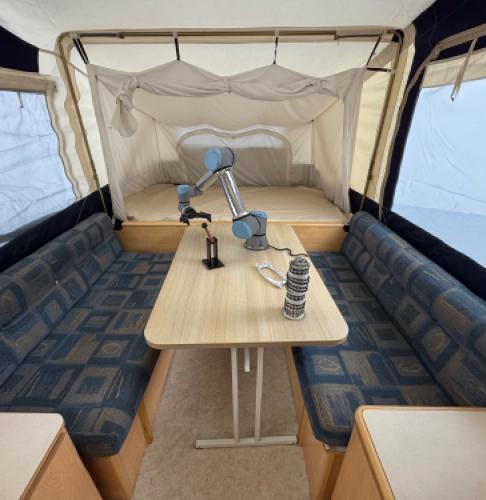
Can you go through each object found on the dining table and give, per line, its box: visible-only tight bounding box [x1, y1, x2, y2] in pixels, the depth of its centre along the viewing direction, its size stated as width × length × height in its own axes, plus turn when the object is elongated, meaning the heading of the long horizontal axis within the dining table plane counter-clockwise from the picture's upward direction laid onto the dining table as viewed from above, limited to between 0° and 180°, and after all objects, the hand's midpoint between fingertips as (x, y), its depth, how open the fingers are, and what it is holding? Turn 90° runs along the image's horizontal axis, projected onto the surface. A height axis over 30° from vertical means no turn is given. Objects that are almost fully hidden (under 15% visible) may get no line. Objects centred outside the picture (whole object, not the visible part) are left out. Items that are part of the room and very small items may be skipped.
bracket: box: [201, 235, 225, 271], centre depth 148 cm, size 11×9×16 cm
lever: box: [200, 221, 215, 246], centre depth 148 cm, size 15×4×4 cm, turn 27°
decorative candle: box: [283, 256, 311, 321], centre depth 106 cm, size 9×9×25 cm
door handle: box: [255, 261, 287, 289], centre depth 139 cm, size 3×10×25 cm
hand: (200, 221), depth 157 cm, fingers open, 13 cm apart
